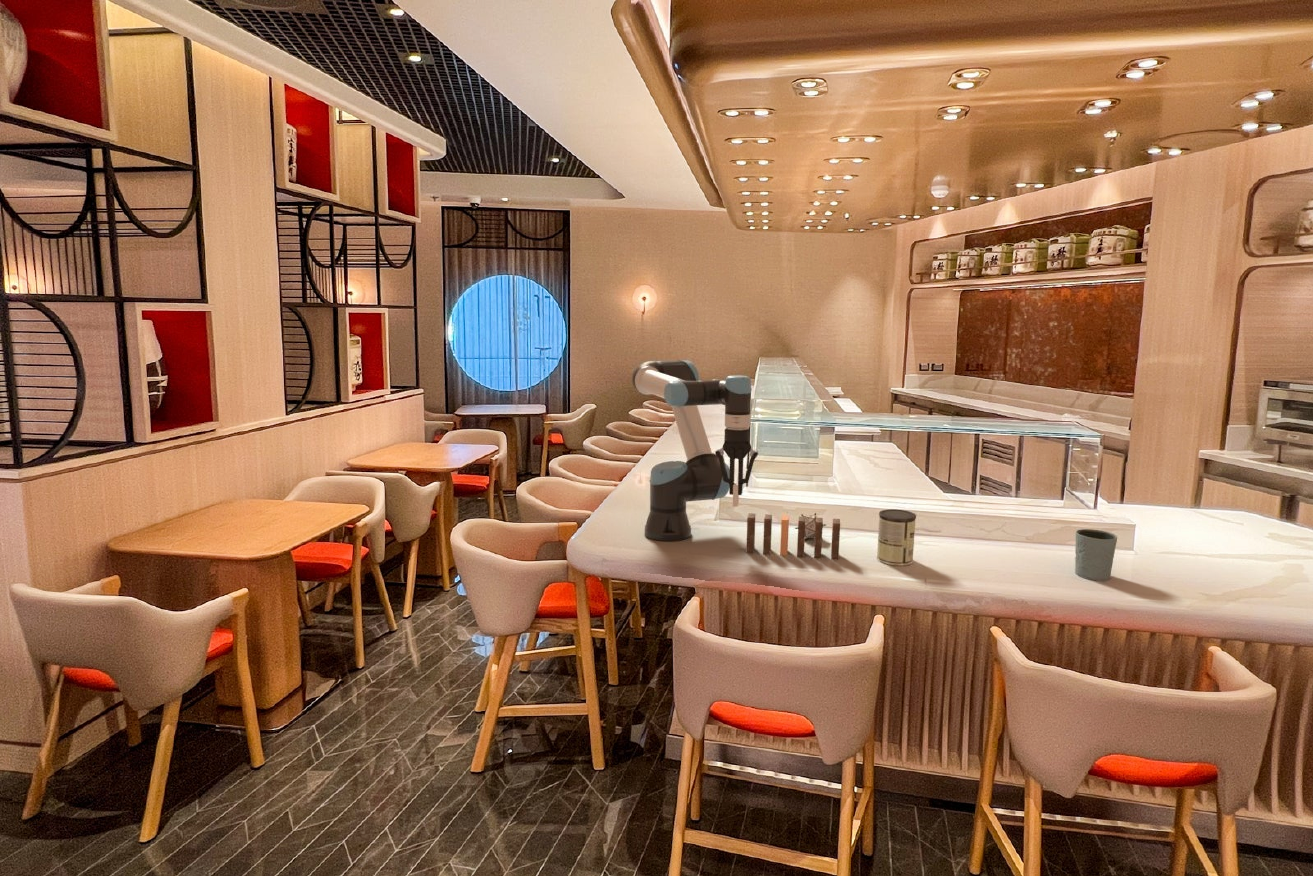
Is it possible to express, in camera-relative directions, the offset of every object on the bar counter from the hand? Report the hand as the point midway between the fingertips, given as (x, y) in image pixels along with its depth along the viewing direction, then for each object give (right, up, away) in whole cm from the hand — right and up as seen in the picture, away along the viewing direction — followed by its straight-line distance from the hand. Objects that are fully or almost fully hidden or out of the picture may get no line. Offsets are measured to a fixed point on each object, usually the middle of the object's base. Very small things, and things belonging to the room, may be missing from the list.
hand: (735, 505), depth 230 cm
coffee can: (+46, -16, -6) cm, 49 cm away
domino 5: (+24, -15, -2) cm, 29 cm away
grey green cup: (+98, -18, -17) cm, 101 cm away
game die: (+25, -12, +14) cm, 31 cm away
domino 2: (+10, -14, +1) cm, 17 cm away
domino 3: (+15, -14, 0) cm, 20 cm away
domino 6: (+29, -15, -3) cm, 33 cm away
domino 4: (+19, -15, -1) cm, 24 cm away
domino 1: (+5, -14, +2) cm, 15 cm away
